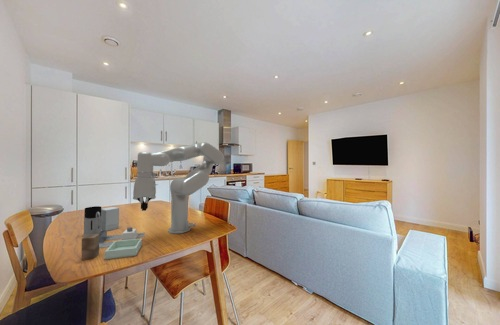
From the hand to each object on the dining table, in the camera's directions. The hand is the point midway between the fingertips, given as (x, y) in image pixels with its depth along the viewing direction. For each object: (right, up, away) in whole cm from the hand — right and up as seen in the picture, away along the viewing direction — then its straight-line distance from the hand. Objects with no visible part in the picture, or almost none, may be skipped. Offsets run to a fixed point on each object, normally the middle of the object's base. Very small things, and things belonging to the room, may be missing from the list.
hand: (144, 210), depth 103 cm
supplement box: (-30, -16, +17) cm, 38 cm away
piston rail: (-10, -16, -3) cm, 19 cm away
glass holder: (-31, -16, +6) cm, 35 cm away
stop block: (-12, -15, -20) cm, 28 cm away
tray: (-1, -16, -15) cm, 21 cm away
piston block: (-7, -15, -2) cm, 17 cm away
